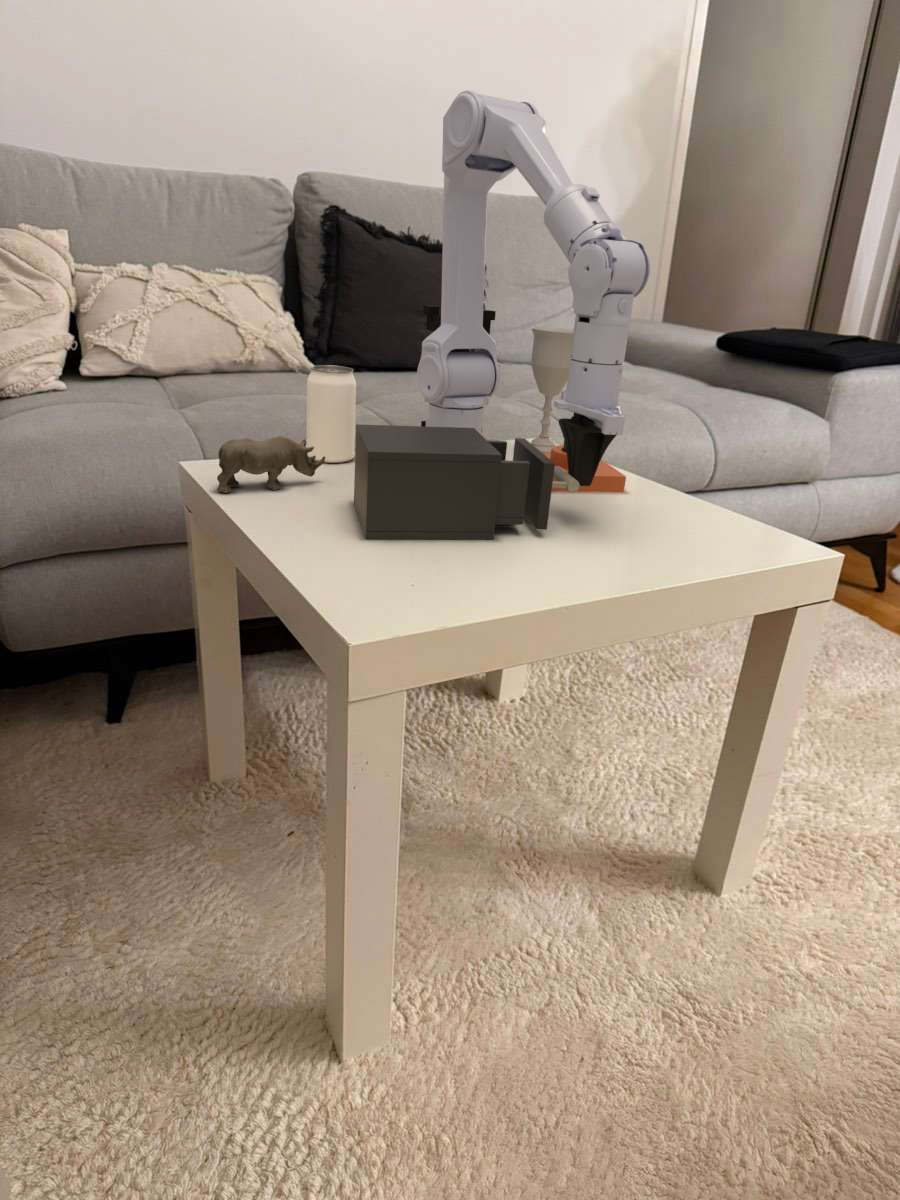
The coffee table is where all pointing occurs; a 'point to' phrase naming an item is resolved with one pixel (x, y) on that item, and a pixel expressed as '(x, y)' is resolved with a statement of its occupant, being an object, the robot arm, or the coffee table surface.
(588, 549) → the coffee table surface
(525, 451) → the drawer
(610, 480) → the control block
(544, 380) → the chalice
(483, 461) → the cabinet
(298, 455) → the rhino figurine
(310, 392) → the can
